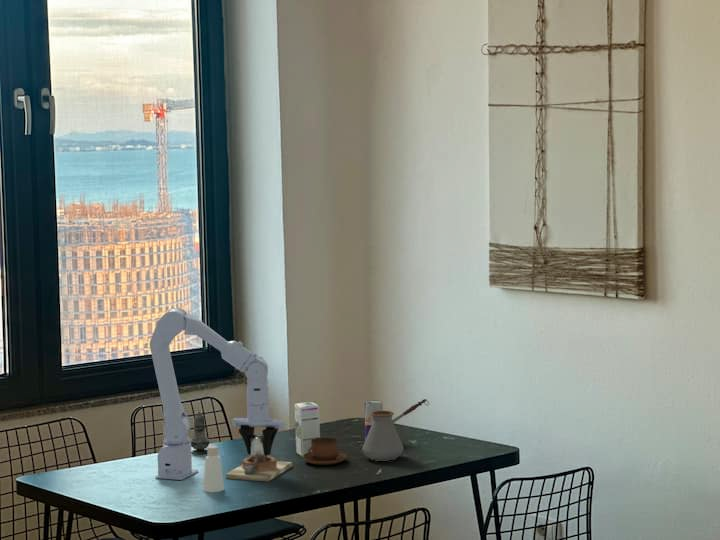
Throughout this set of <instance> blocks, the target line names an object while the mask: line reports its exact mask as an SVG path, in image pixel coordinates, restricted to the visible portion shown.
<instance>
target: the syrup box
mask: <svg viewBox="0 0 720 540" xmlns="http://www.w3.org/2000/svg"><path fill="white" fill-rule="evenodd" d="M294 425H295V427H294V428H295V452H296V454H297V455H299V457H302V458H303V455H304V454H306V453H308V450H309V448H310V447H311V440H313V439H316V438H321V432H320V431H321V428H320V405H318V404H317V403H314V402H312V401H309V402H308V401H305V402H299V403H298V402H297V403H294ZM310 452H312V450H311V451H310Z"/></svg>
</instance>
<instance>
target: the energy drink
mask: <svg viewBox="0 0 720 540" xmlns="http://www.w3.org/2000/svg"><path fill="white" fill-rule="evenodd" d="M383 405H384V404H383V401H382V400H379V399H370V400H369V399H368V400H366V401H365V402H364V436H365V437H364V439H365V440H366V438H367V435H368V433H369V430H370V428H371V425H372V423H373V417H372V415H371V413H372V412H375V411H384V406H383ZM365 440H364V441H365Z"/></svg>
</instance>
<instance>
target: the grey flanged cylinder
mask: <svg viewBox="0 0 720 540" xmlns="http://www.w3.org/2000/svg"><path fill="white" fill-rule="evenodd" d="M193 419H194V421H193V422H194V423H193V427H192V428H193V429H194V432H193V433H194V434H193V435H194V436H193V438H191V448H193V449H194V450H191V455H195V456H200V455H201V456H202V455H206V454H207V455H208V453H207V451H208V450H207V447H209V446H210V445H209V444H210V441H211V439H210V438H208V437H207V435H206V427H207V426H205V416H204V415H203V414H201V412H200V411H198V412H197V414H196V415H195V416H193Z"/></svg>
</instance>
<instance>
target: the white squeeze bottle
mask: <svg viewBox="0 0 720 540" xmlns="http://www.w3.org/2000/svg"><path fill="white" fill-rule="evenodd" d="M206 450H208V451H207V453H208V454H207V456H205V458H204V459H205V460H204V461H205V462H204V473H203V487H202V488H203V491H204V492H205V493H210V494H211V493H212V494H213V493H220V492H222V491H224V490H225V485H224V478H223V470H222V464H221V463H222V462H221V457H220V455H219V447H218V445H208V447H207V448H206Z"/></svg>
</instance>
